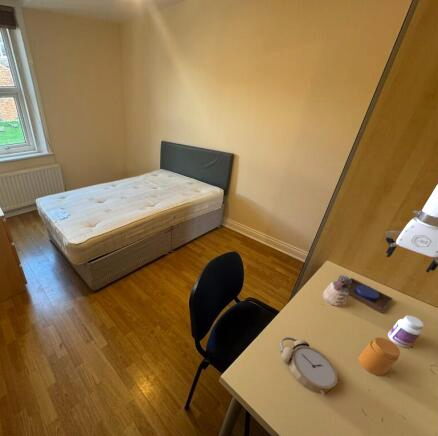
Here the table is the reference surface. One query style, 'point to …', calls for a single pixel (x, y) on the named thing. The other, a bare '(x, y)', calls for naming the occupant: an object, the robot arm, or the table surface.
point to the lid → (367, 293)
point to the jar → (379, 356)
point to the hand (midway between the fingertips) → (407, 262)
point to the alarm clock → (309, 366)
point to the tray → (377, 305)
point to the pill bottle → (406, 331)
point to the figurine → (338, 291)
